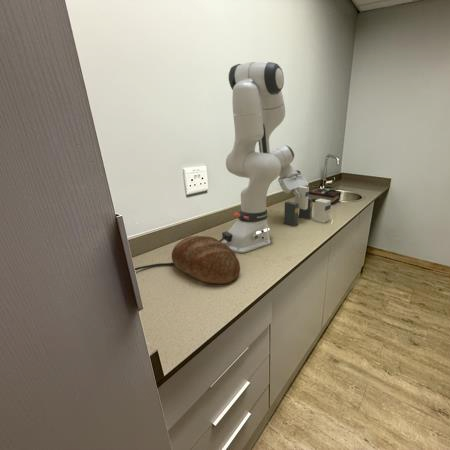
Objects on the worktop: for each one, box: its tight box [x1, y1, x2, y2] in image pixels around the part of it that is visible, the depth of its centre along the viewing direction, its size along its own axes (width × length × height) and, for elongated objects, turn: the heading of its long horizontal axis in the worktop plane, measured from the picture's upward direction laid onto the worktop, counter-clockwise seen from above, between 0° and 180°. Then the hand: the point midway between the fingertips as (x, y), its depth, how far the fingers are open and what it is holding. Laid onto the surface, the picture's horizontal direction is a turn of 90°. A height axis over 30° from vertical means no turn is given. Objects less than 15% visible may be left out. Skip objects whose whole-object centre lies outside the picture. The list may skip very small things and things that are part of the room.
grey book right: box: [298, 198, 314, 220], centre depth 143 cm, size 3×7×12 cm, turn 63°
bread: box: [171, 235, 241, 284], centre depth 85 cm, size 16×29×11 cm, turn 57°
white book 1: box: [294, 186, 310, 210], centre depth 133 cm, size 3×7×12 cm, turn 56°
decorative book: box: [308, 186, 342, 206], centre depth 184 cm, size 19×8×30 cm
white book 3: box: [318, 198, 332, 222], centre depth 140 cm, size 3×7×12 cm, turn 56°
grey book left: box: [283, 201, 299, 227], centre depth 131 cm, size 3×7×12 cm, turn 56°
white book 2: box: [313, 200, 328, 224], centre depth 138 cm, size 3×7×12 cm, turn 56°
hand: (302, 196), depth 133 cm, fingers closed on white book 1, 3 cm apart
